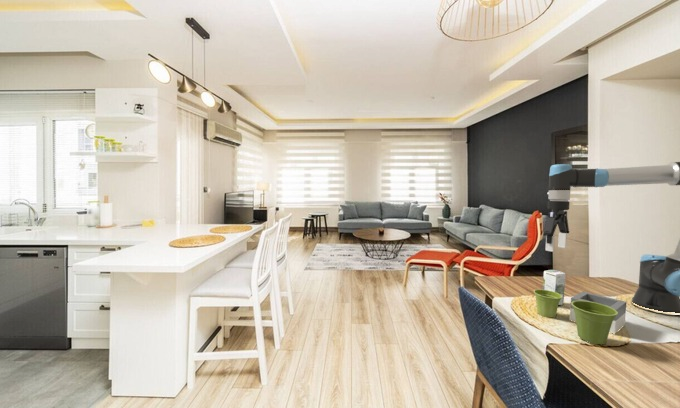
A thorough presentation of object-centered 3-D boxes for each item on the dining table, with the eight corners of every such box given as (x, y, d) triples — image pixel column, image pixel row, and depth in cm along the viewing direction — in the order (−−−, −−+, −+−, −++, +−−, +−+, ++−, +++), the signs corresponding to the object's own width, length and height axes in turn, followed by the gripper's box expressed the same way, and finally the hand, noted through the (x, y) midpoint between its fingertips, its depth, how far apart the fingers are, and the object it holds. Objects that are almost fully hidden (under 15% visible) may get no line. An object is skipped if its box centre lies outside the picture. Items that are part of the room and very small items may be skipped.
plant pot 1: (562, 314, 119) (563, 293, 118) (559, 322, 112) (560, 300, 111) (535, 307, 125) (536, 287, 124) (530, 314, 118) (531, 293, 118)
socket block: (581, 312, 121) (582, 291, 120) (624, 325, 110) (626, 301, 109) (569, 320, 113) (571, 297, 113) (614, 334, 103) (616, 309, 102)
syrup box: (550, 300, 133) (552, 269, 132) (563, 305, 128) (566, 272, 127) (541, 302, 131) (543, 270, 130) (554, 307, 126) (556, 273, 125)
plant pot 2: (560, 330, 105) (562, 299, 104) (594, 331, 105) (597, 300, 104) (587, 349, 93) (590, 314, 93) (626, 350, 93) (628, 315, 92)
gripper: (559, 199, 137) (556, 244, 138) (536, 200, 122) (533, 250, 124) (579, 200, 131) (576, 247, 132) (557, 201, 116) (554, 254, 118)
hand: (555, 249), depth 128 cm, fingers open, 13 cm apart
